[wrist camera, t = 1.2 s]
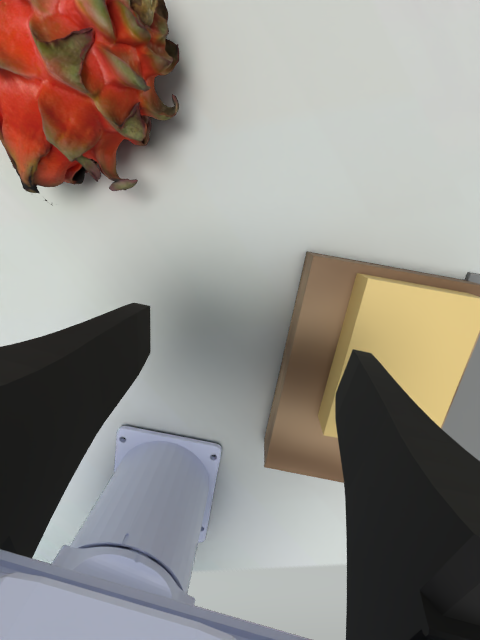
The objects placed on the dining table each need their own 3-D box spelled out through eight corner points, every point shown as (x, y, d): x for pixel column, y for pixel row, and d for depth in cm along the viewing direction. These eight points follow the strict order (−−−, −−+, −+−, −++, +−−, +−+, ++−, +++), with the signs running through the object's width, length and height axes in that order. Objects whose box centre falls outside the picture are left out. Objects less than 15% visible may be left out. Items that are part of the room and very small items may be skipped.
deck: (396, 464, 24) (414, 496, 21) (264, 438, 24) (264, 466, 22) (464, 280, 20) (498, 288, 17) (306, 251, 21) (313, 255, 18)
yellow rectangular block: (413, 433, 20) (429, 455, 18) (317, 415, 20) (323, 435, 18) (466, 292, 18) (491, 300, 16) (356, 272, 18) (368, 278, 16)
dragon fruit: (196, 22, 19) (102, 193, 24) (33, -155, 14) (-47, 111, 18) (244, 37, 13) (108, 257, 18) (-2, -258, 8) (-105, 166, 13)
